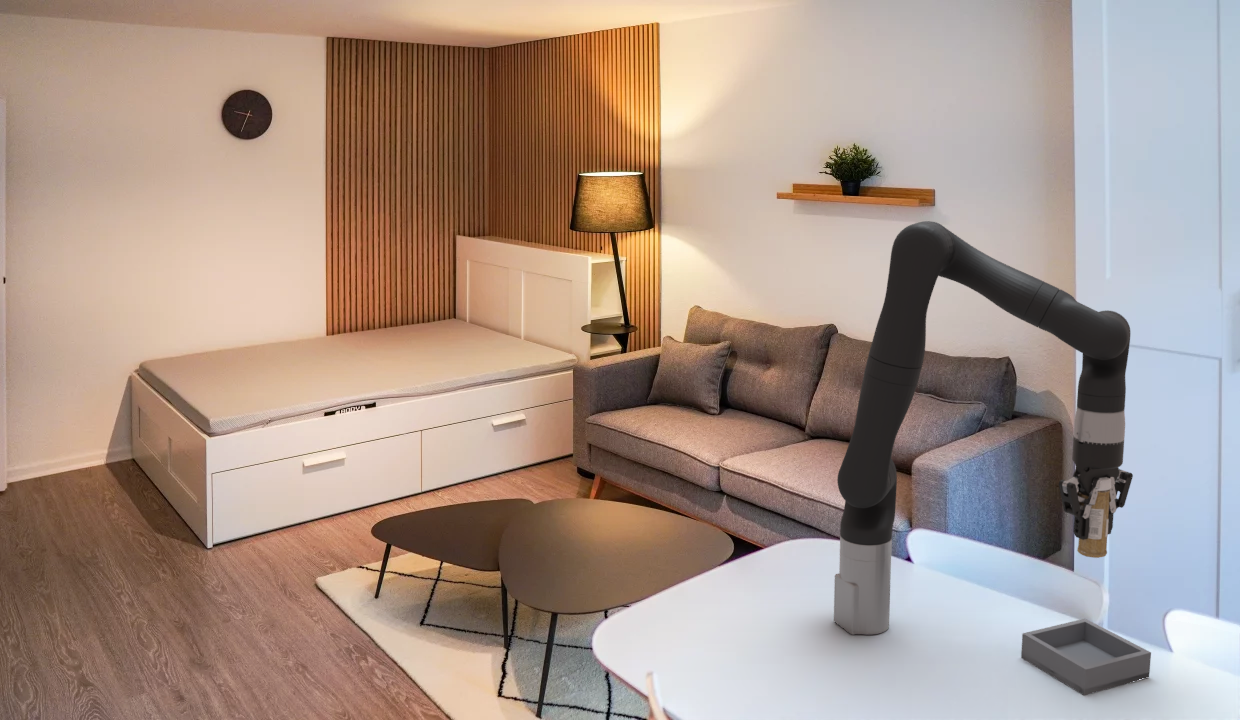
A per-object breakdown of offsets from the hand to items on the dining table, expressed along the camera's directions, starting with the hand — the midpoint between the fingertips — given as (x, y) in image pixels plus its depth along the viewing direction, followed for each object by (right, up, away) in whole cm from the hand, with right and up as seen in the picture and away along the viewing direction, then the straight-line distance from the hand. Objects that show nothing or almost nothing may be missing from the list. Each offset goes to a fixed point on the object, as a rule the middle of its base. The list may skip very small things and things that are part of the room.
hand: (1092, 535), depth 173 cm
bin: (+1, -23, +4) cm, 23 cm away
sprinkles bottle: (0, -3, +1) cm, 3 cm away
